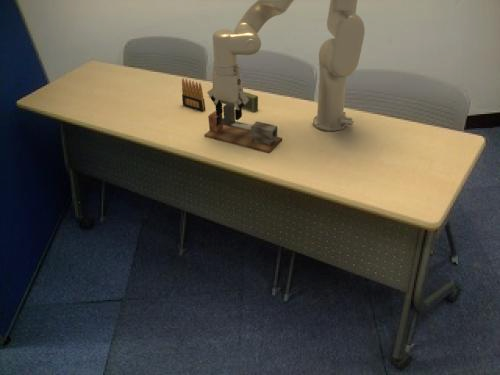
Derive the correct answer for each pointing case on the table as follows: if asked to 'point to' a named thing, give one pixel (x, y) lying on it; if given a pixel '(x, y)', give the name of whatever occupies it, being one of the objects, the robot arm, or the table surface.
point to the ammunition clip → (192, 95)
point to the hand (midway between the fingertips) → (228, 116)
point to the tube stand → (245, 135)
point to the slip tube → (232, 118)
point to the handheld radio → (249, 102)
